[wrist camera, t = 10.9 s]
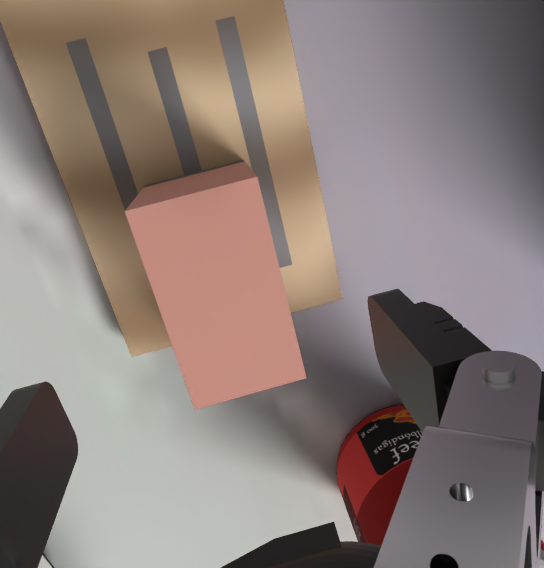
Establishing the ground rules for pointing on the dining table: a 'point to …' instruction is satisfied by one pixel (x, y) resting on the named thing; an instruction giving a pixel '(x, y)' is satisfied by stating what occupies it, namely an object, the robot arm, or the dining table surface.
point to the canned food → (378, 470)
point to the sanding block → (217, 282)
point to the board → (172, 127)
